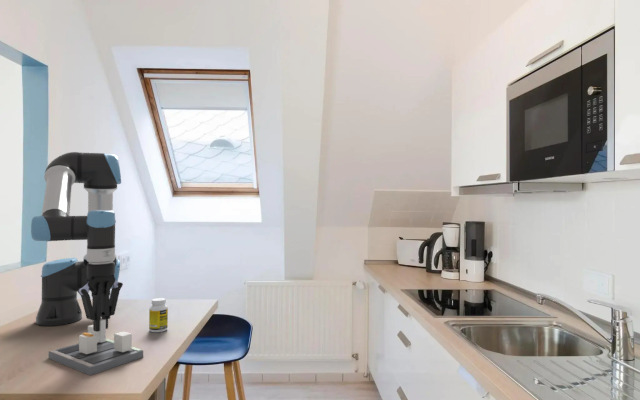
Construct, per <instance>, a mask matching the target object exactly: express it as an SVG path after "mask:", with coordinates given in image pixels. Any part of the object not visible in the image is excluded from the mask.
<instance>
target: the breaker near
mask: <svg viewBox="0 0 640 400" xmlns="http://www.w3.org/2000/svg"><path fill="white" fill-rule="evenodd" d="M132 336H133V335H132V333H130V332H128V331H120V332H116V333H114V334H113V341H114V350H116V351H119V352H125V351H128V350H131V349H132V347H133V346H132V344H133V343H132Z"/></svg>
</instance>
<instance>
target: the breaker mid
mask: <svg viewBox="0 0 640 400" xmlns="http://www.w3.org/2000/svg"><path fill="white" fill-rule="evenodd" d="M78 343H79V352H82V353H84V354H89V353H93V352H96V351H97V335H95V334H92V333H88V332H82V334H80V335H78Z"/></svg>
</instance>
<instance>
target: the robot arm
mask: <svg viewBox="0 0 640 400" xmlns="http://www.w3.org/2000/svg"><path fill="white" fill-rule="evenodd" d="M119 161H120V160H119V158H118V156H117V155H116V154H114V153H113V154H112V153H104V152H103V153H102V152H80V151H79V152H78V151H72V152H66V153H64V154H61V155H59V156H57V157H55V158H54V159H53V160H52V161H50V163H48V165H47V167H46V169H45V172H44V176H43V177H44V182H45V183H46V185H45V191H44V196H43V197H44V199H43V202H42V203H43V204H42V211H41V215H38V216H34V217H32V219H31V222H30V223H31V224H30V226H31V228H30V233H31V234H30V235H31V238H32V240H33V241H34V242H57V241H58V242H59V241H85V240H86V243H87V245H86V254H85V255H84V256H83V260H82V261H81V260H80V261H78V258H76V257H68V258H67V257H66V258H61V259H56V260H52V261H48V262H46V263H44V264H43V266H42V267H41V275H40V277H41V303H40V305H39V308H38V311H37V314H36V316H35V324H36V325H38V326H45V327H53V326H61V325H68V324H72V323H75V322H79V321H80V320H81V319H83V311H82V309H81V306H80V304H79V301H78V294H79V295H80V298H81V302H82V305H83V310H84V314H85V318H86V319H88V320H91V321H92V322H93V324H92V325H93V330H94V331H96V335H97V342H100V343H101V342H105V341H106V339H107V337H106V336H107V335H106V332H107V331H106V330H108V328H109V320H110V319H111V316H114V315H115V313H116V310H117V305H118V301H119V297H120V296H119V295H120V290H121V288H123V285H124V284H123V282H122V281H121V282H119V277H120V268H121V259H118V258H117V255H116V224H117V223H116V213H115V211H113V208H114V204H113V203H114V202H113V201H114V192H115V191H116V190H117V189H118V185H120V184H122V177H121V168H120V162H119ZM74 184H83V189H84V190H85V191H86V192H87V195H88V196H87V200H88V201H87V214H86V215H70V213H71V212H70V211H71V202H72V201H71V197H72V187H73V185H74ZM90 292H91V296H90ZM91 297H92V300H91Z"/></svg>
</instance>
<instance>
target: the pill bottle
mask: <svg viewBox="0 0 640 400" xmlns="http://www.w3.org/2000/svg"><path fill="white" fill-rule="evenodd" d="M166 299H167V298H165V297H157V298H152V300H151V305H150V307H149V310H148V311H149V316H148V321H149V323H148V324H149V325H148V326H149V328H148V330H149V332H151V333H162V332H165V331H167V330H168V327H169V325H168V322H169V321H168V320H169V317H168V315H169V313H168V312H169V308H168V305H167V304H166Z"/></svg>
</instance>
